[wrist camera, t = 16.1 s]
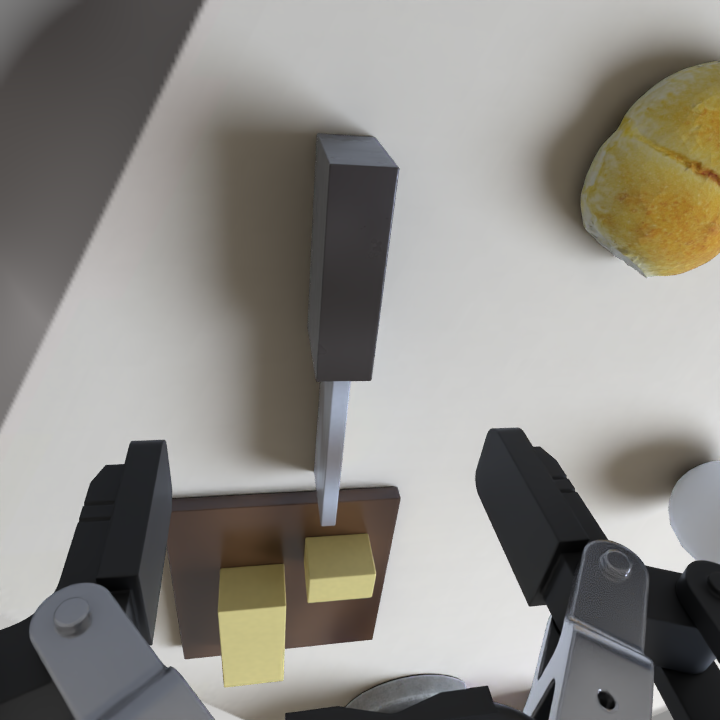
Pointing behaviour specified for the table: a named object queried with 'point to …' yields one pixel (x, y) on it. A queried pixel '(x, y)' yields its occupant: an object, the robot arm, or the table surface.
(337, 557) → the butter pat
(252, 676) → the butter
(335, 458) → the knife
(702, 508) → the seamed sphere
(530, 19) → the table surface
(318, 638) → the board
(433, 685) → the webcam
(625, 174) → the bread roll
